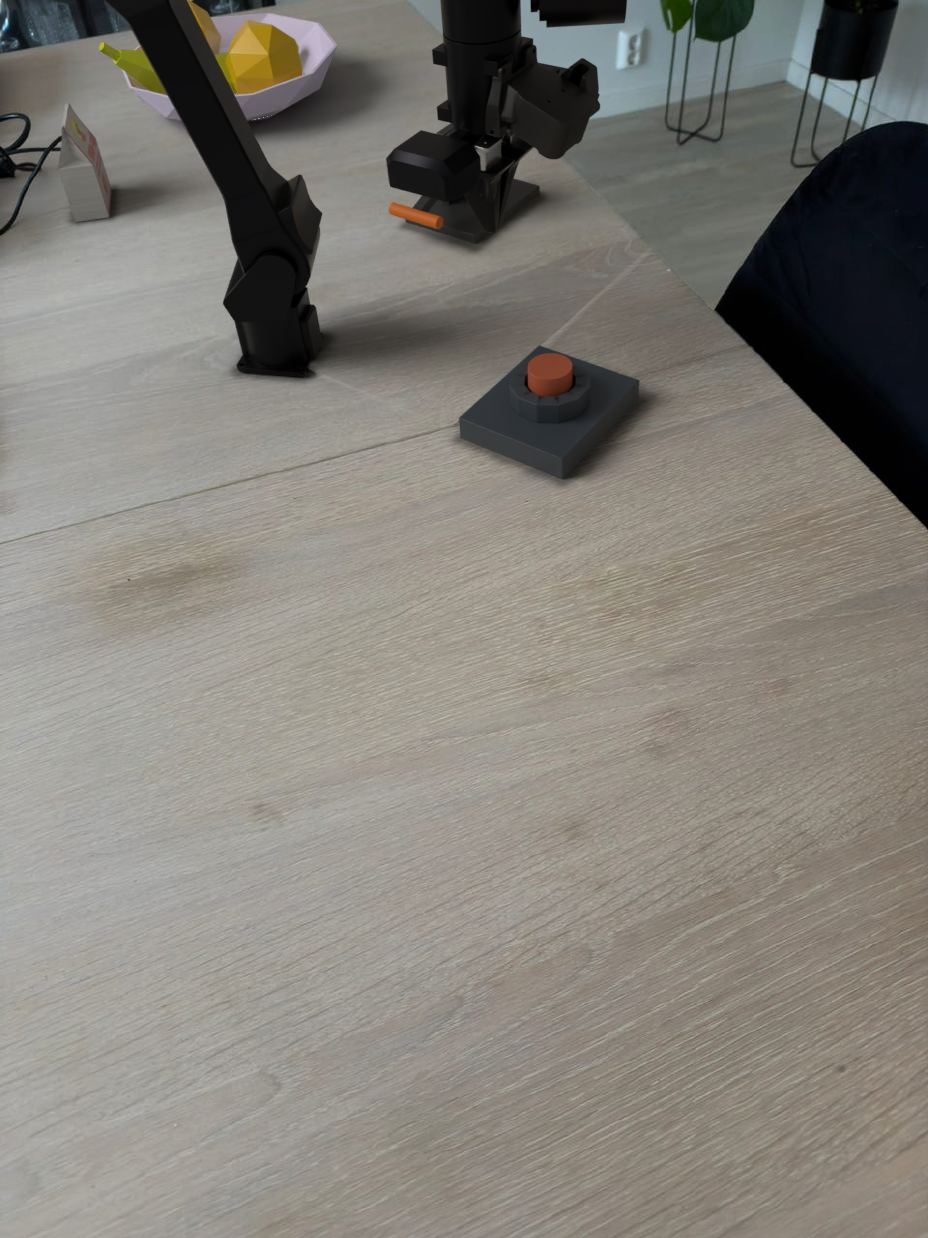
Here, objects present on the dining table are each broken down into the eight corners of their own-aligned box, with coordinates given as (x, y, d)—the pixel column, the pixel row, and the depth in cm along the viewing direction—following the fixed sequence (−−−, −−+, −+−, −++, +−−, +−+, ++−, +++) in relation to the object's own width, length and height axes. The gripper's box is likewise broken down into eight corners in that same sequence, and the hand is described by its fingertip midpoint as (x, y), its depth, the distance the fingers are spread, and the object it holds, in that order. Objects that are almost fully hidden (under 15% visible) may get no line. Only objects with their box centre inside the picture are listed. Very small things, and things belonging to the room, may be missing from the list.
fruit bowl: (308, 45, 150) (293, -48, 142) (365, 121, 133) (353, 21, 124) (104, 86, 145) (77, -7, 136) (137, 172, 127) (107, 71, 119)
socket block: (562, 480, 86) (562, 440, 84) (460, 438, 91) (457, 399, 88) (638, 401, 93) (641, 361, 90) (539, 365, 97) (538, 326, 94)
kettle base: (475, 247, 111) (470, 163, 105) (405, 226, 115) (397, 143, 109) (539, 197, 117) (539, 114, 111) (471, 178, 121) (467, 97, 115)
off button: (556, 402, 87) (556, 384, 86) (519, 388, 89) (518, 370, 88) (580, 379, 89) (581, 361, 88) (543, 365, 91) (543, 347, 89)
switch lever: (439, 236, 108) (433, 217, 106) (392, 221, 111) (385, 202, 108) (503, 153, 111) (499, 133, 109) (456, 140, 114) (450, 121, 112)
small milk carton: (75, 221, 120) (44, 130, 113) (79, 193, 125) (49, 104, 117) (109, 217, 120) (80, 126, 113) (111, 188, 125) (83, 99, 118)
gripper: (505, 99, 71) (513, 310, 82) (642, 1, 81) (632, 202, 92) (369, 70, 75) (395, 274, 87) (515, -20, 85) (520, 174, 97)
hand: (492, 230), depth 91 cm, fingers closed
